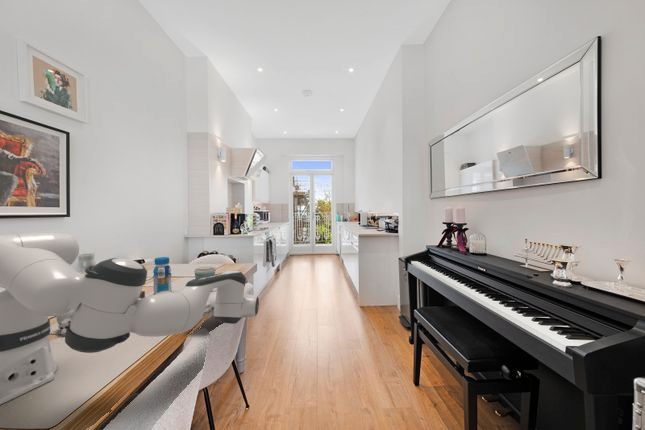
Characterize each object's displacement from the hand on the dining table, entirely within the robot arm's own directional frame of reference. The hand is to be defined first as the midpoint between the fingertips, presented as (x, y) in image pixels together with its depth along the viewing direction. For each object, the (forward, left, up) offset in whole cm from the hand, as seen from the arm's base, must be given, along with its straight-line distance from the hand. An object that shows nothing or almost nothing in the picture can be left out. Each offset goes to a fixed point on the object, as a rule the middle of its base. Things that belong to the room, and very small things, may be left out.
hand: (186, 303), depth 111 cm
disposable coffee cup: (+35, +12, -8) cm, 38 cm away
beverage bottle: (+32, +34, -8) cm, 47 cm away
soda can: (0, +9, -8) cm, 12 cm away
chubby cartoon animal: (-12, +40, -8) cm, 43 cm away
